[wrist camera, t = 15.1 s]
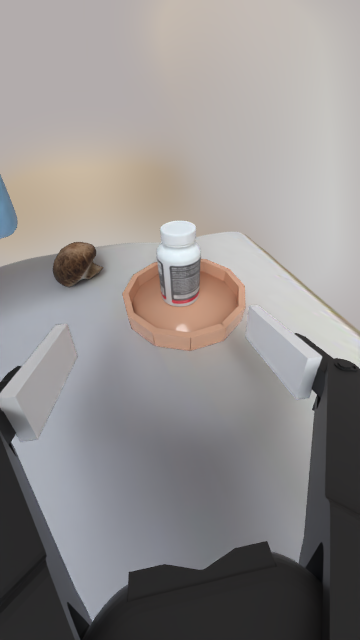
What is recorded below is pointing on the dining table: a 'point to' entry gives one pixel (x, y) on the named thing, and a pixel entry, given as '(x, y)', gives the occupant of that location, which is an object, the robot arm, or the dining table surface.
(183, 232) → the pill bottle
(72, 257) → the mushroom
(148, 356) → the dining table surface
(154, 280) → the bowl
